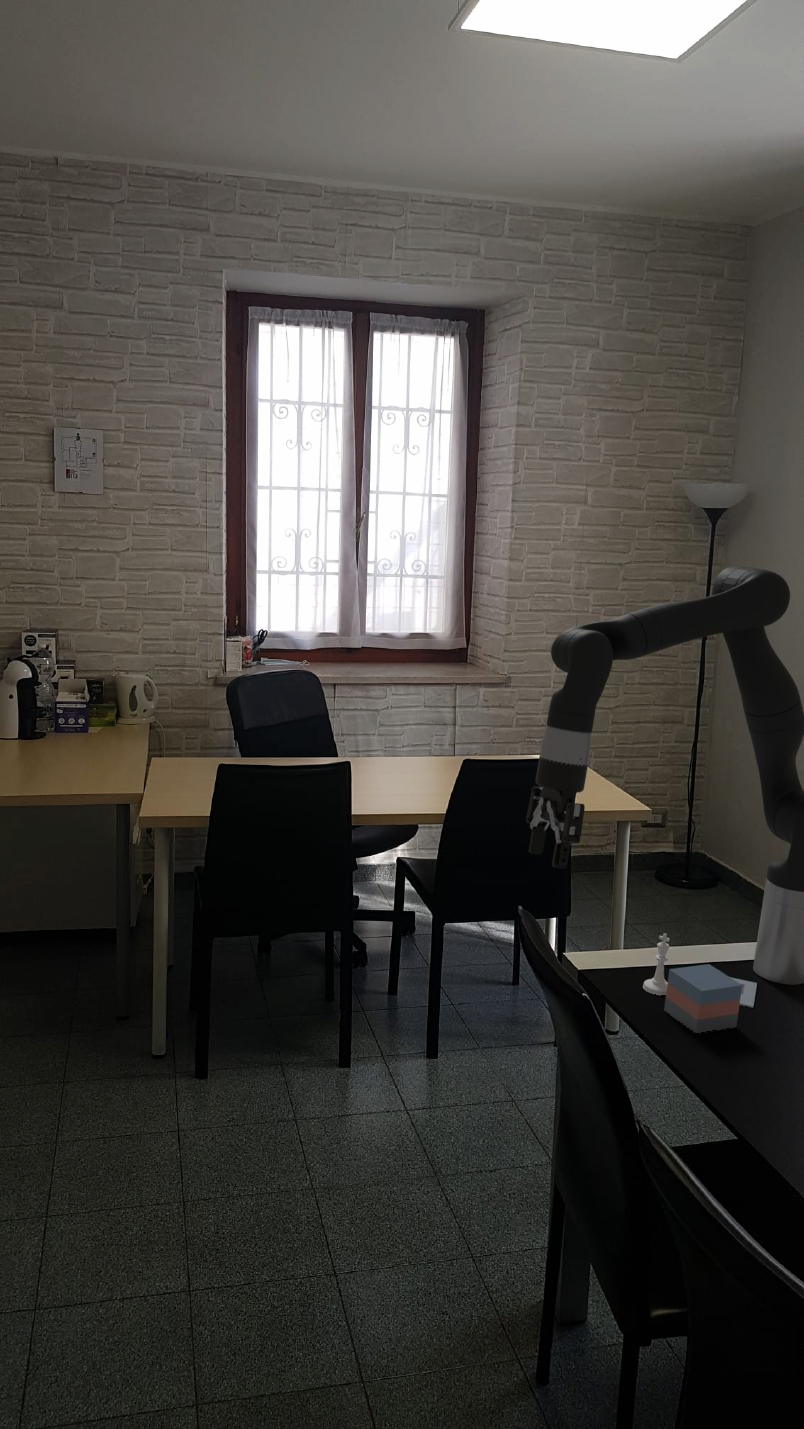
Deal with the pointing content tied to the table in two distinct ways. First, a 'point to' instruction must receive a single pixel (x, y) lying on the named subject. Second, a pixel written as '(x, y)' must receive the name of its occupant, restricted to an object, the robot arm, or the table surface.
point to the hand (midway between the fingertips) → (546, 860)
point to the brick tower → (702, 998)
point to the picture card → (747, 992)
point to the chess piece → (659, 970)
